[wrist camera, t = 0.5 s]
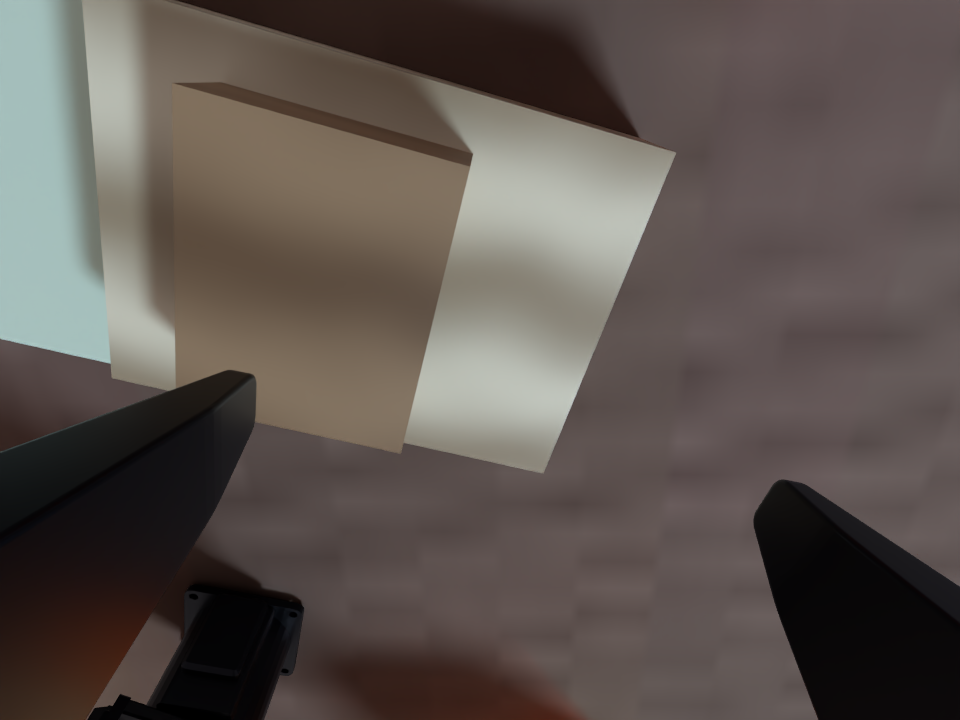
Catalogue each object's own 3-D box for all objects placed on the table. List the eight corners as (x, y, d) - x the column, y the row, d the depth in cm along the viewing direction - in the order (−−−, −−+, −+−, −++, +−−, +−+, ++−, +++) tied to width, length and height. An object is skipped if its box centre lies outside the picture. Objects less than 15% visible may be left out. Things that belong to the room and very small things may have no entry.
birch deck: (535, 414, 24) (543, 473, 20) (172, 330, 22) (111, 378, 19) (640, 138, 18) (676, 152, 15) (167, -3, 17) (80, -25, 13)
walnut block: (411, 410, 19) (400, 453, 17) (213, 365, 18) (175, 404, 16) (473, 154, 15) (470, 166, 13) (221, 82, 14) (171, 83, 12)
